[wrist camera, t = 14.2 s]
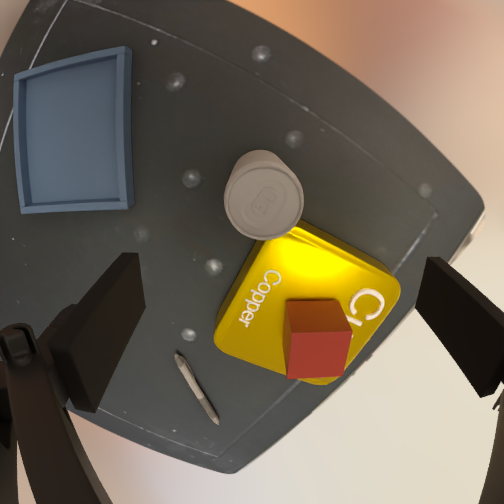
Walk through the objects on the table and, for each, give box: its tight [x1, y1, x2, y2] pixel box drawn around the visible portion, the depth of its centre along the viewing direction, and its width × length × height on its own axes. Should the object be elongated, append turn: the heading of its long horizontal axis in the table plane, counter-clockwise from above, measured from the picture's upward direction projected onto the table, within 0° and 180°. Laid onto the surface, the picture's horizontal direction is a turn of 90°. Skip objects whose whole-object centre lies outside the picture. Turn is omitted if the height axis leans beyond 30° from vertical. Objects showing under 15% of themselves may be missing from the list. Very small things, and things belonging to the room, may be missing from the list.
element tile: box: [214, 219, 401, 385], centre depth 32 cm, size 15×15×5 cm
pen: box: [174, 354, 219, 425], centre depth 39 cm, size 1×14×1 cm, turn 18°
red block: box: [282, 301, 353, 379], centre depth 28 cm, size 5×5×5 cm
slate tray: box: [13, 46, 135, 214], centre depth 27 cm, size 16×14×2 cm
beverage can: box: [224, 150, 304, 240], centre depth 24 cm, size 5×5×12 cm
